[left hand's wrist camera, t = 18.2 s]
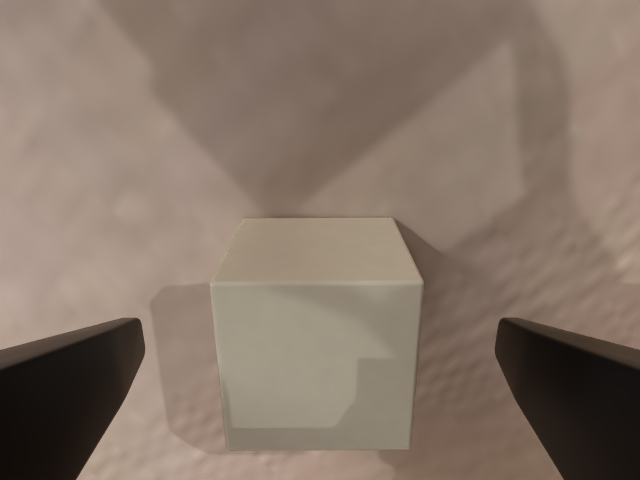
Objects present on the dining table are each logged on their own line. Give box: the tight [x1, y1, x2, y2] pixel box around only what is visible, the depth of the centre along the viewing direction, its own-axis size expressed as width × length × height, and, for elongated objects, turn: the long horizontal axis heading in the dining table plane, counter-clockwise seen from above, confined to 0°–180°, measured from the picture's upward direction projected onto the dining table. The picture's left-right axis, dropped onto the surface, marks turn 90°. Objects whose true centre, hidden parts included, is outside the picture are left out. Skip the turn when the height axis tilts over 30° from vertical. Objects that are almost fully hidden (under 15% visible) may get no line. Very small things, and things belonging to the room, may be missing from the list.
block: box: [210, 218, 425, 451], centre depth 12 cm, size 4×4×4 cm
